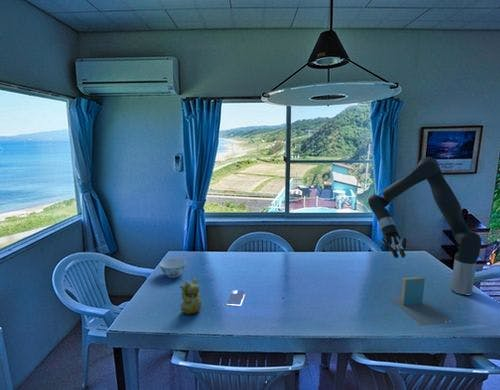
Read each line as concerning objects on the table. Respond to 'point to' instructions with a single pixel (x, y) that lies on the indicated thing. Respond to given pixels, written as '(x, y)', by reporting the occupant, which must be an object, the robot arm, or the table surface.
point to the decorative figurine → (190, 297)
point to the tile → (412, 290)
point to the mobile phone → (236, 298)
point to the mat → (422, 313)
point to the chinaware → (173, 266)
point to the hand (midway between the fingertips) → (400, 257)
